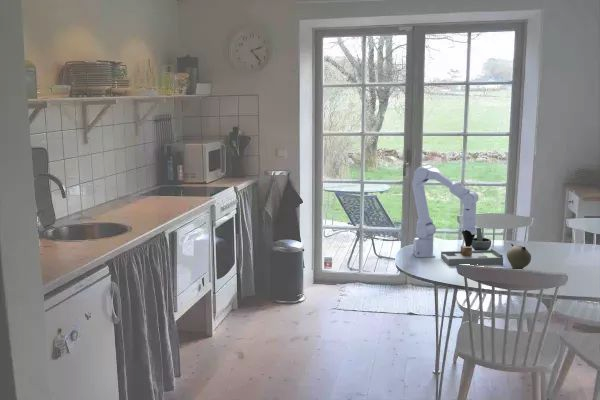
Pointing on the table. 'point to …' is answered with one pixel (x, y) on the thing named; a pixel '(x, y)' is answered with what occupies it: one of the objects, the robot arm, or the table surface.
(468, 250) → the block
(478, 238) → the mortar and pestle
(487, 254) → the trap lane
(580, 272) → the table surface
